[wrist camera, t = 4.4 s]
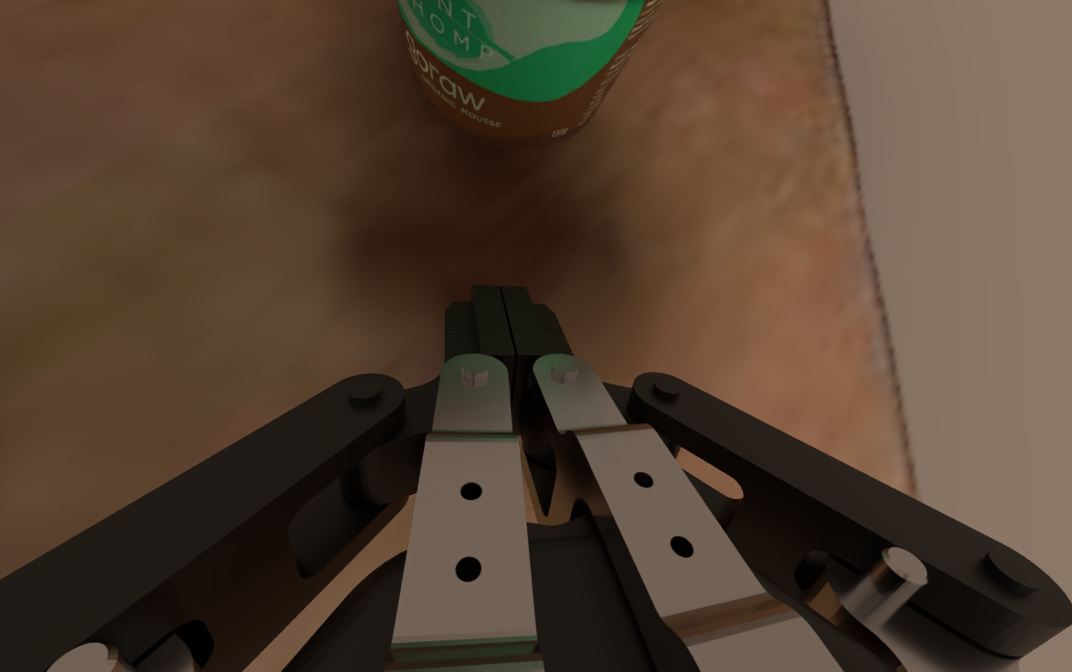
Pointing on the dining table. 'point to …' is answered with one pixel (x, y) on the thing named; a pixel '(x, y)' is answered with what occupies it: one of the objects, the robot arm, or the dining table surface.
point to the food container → (520, 63)
